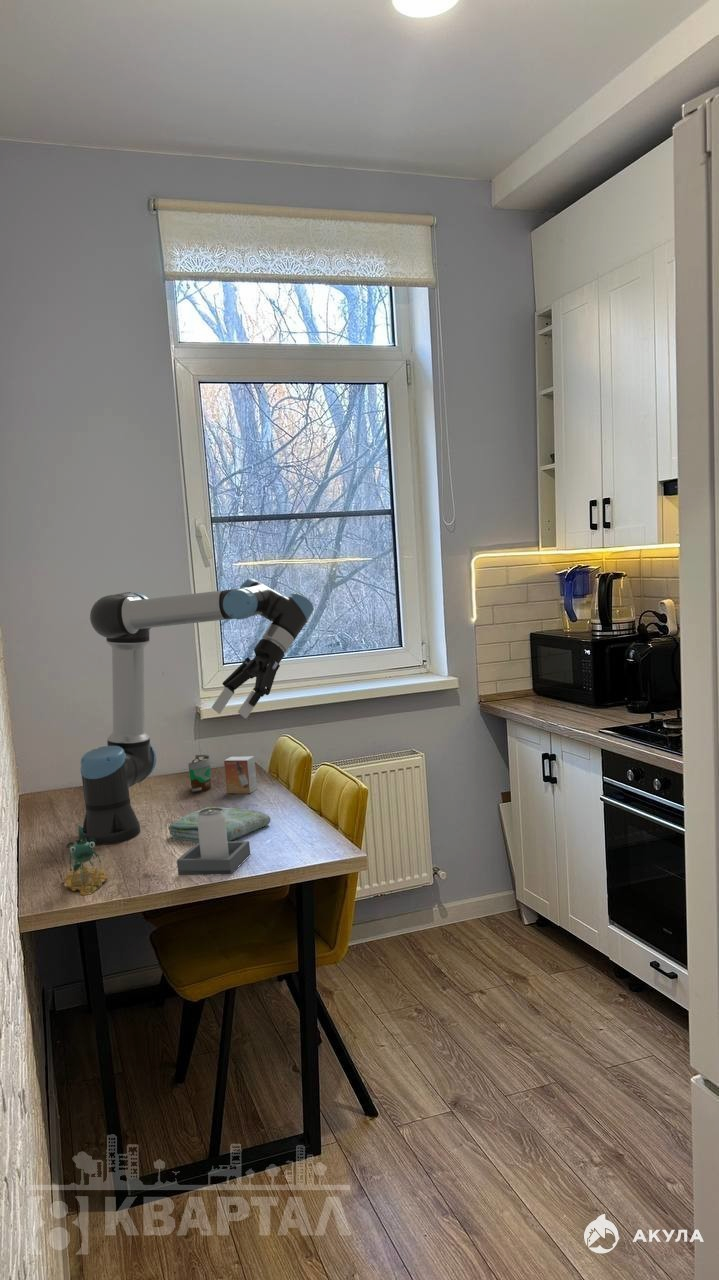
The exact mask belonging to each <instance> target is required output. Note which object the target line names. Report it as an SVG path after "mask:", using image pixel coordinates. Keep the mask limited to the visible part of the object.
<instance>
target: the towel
mask: <svg viewBox="0 0 719 1280" xmlns="http://www.w3.org/2000/svg"><path fill="white" fill-rule="evenodd" d="M208 808H221V809H222V812H223V814H224V815H225V822H226V832H227V841H233V840H234V841H235V840H236V838H237V839H239V838H241V837H243V835H244V836H245V835H248V834H250V832H251V833H253V832H255V831H258V830H260V829H262V827H263V828H265V827H267V826H268V825H269V824H270V823H271V817H270V816H269V815H268V814H266V813H264V812H262V811H259V810H254V809H241V808H234V807H233V808H232V807H218V806H208V807H204V808H201V809H198V810H196V811H194V812H191V813H188V814H186V815H184V816H182V817H181V818H178V819H177V820H175V821H173V822H172V823H171V824H169V825H168V831H169V834H170V836H171V838H172V839H175V840H181V841H187V842H188V841H189V842H195V843H198V842H199V833H198V823H197V819H198V816H199V814H198V812H199V811H201V810H204V809H208ZM264 826H265V827H264ZM259 828H260V829H259ZM257 829H258V830H257ZM252 831H253V832H252Z"/></svg>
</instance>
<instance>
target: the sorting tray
mask: <svg viewBox="0 0 719 1280" xmlns="http://www.w3.org/2000/svg"><path fill="white" fill-rule="evenodd" d="M227 842H228V852H229V857H228V858H207V859H201V852H200V843H199V842H196V843H195V844H194V845H193V846H192V847H191V848H190V849H188V850H187V851H186V852H185V853H184V854H183V855H181V856H180V857H179V858H177V859H176V865H177V875H178V876H200V875H201V876H211V875H210V874H231V875H233V873H234V872H235V871H237V869H238V868H239V867H240V866H241V865H242V864H243V863H244V862H245V861H246V860H247V859H248V858H249V857H250V856H251V848H250V841H249V840H247V841H246V840H244V841H243V840H241V841H239V840H237V841H235V840H234V841H233V840H231V841H227ZM249 855H250V856H249ZM248 856H249V857H248ZM247 857H248V858H247ZM246 858H247V859H246ZM245 859H246V860H245ZM244 860H245V861H244ZM243 861H244V862H243ZM242 862H243V863H242ZM241 863H242V864H241ZM240 864H241V865H240ZM239 865H240V866H239ZM238 866H239V867H238ZM234 870H235V871H234ZM202 874H203V875H202ZM205 874H206V875H205ZM207 874H209V875H207Z"/></svg>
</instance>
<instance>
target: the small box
mask: <svg viewBox="0 0 719 1280" xmlns="http://www.w3.org/2000/svg"><path fill="white" fill-rule="evenodd" d="M255 760H256V759H255V756H254V755H250V756H249V755H248V756H230V757H228V758H226V759H225V760H224V761H223V763H224V764H223V765H224V775H225V776H224V777H225V786H226V787H225V788H226V794H242V793H250V794H252V793H253V792H255V791H256V790H257V789H258V785H257V784H258V783H257V771H256V762H255ZM254 790H255V791H254ZM251 792H252V793H251Z"/></svg>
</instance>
